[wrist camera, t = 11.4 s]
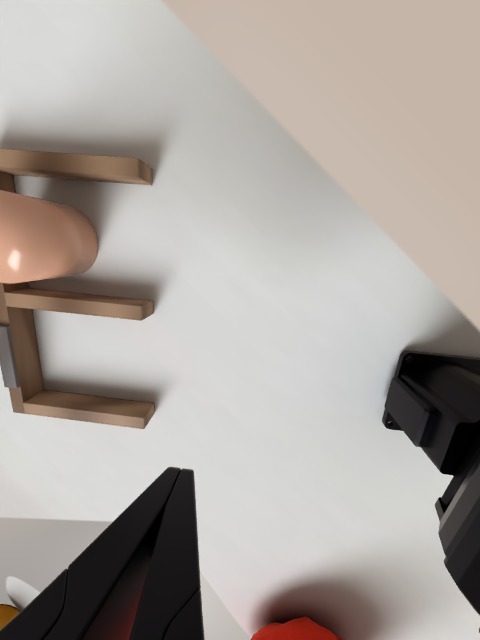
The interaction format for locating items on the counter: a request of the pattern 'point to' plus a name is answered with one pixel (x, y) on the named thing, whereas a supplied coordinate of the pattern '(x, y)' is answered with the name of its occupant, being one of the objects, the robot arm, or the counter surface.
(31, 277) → the peach domed cylinder
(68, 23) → the counter surface
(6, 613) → the condiment bottle set
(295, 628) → the tomato
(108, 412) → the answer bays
